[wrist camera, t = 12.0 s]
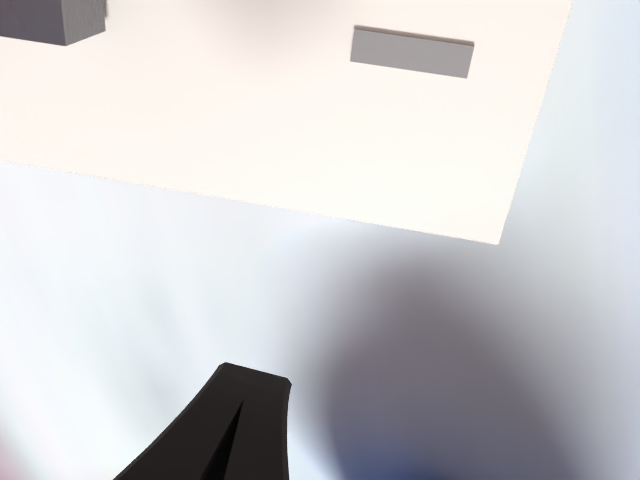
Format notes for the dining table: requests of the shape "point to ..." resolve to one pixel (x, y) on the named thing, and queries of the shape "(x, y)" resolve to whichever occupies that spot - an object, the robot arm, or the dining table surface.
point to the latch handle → (51, 20)
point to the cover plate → (297, 104)
